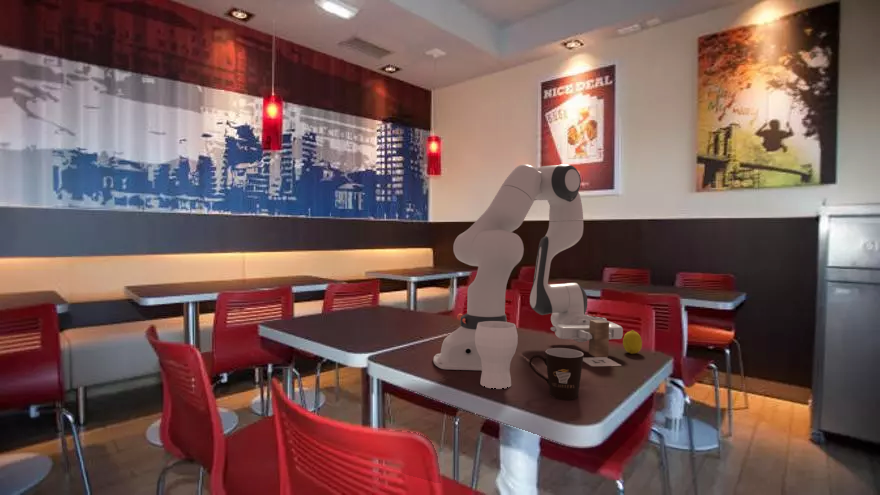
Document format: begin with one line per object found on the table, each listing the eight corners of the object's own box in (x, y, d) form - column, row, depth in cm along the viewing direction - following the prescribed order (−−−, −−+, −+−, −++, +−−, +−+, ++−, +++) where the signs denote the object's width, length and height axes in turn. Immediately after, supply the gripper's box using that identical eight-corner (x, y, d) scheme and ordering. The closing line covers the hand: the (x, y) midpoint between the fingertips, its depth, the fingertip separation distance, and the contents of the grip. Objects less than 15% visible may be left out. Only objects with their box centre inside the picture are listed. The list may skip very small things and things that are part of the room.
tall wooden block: (595, 357, 127) (596, 322, 127) (588, 353, 131) (589, 320, 131) (608, 356, 128) (609, 322, 128) (601, 353, 132) (602, 319, 132)
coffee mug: (589, 395, 103) (590, 352, 103) (571, 404, 97) (572, 359, 97) (545, 383, 111) (546, 344, 111) (526, 391, 105) (527, 350, 105)
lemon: (644, 357, 137) (645, 332, 137) (626, 357, 137) (627, 331, 137) (637, 353, 142) (637, 328, 142) (619, 352, 142) (620, 328, 142)
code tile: (591, 368, 125) (591, 366, 125) (578, 359, 134) (578, 357, 134) (621, 367, 126) (621, 365, 126) (606, 359, 135) (606, 356, 135)
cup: (524, 389, 107) (525, 327, 106) (482, 393, 104) (483, 329, 104) (507, 376, 117) (508, 319, 117) (469, 379, 115) (469, 321, 114)
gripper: (548, 317, 141) (566, 326, 127) (609, 317, 144) (633, 326, 130) (548, 337, 141) (565, 347, 127) (608, 337, 144) (632, 347, 130)
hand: (600, 336), depth 129 cm, fingers closed on tall wooden block, 4 cm apart
